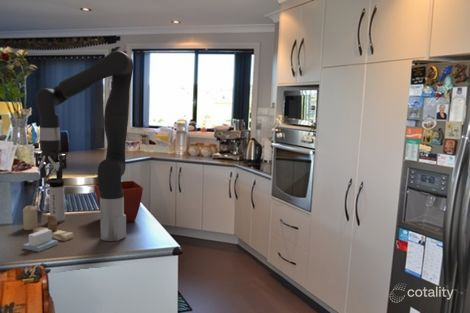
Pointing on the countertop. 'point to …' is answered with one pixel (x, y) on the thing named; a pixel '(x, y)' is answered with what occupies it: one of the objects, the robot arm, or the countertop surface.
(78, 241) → the countertop surface
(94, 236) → the countertop surface
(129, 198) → the plant pot
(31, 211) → the candle
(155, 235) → the countertop surface
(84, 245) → the countertop surface
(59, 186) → the travel mug
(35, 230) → the maple bar
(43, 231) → the fulcrum block
